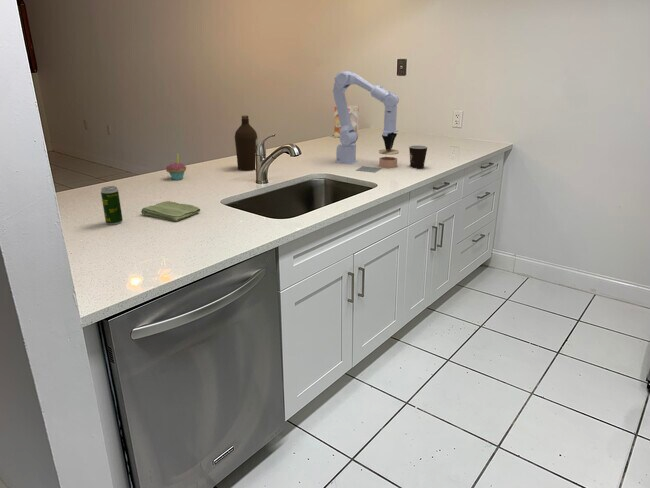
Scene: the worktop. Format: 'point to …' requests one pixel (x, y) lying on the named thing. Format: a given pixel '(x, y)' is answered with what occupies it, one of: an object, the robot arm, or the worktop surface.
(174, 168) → the cupcake
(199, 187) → the worktop surface
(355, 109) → the coffeecake box
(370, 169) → the mat
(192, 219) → the worktop surface
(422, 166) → the coffee mug
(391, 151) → the lid
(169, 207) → the washcloth
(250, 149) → the olive oil
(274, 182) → the worktop surface
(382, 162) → the bowl
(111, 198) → the beer can
